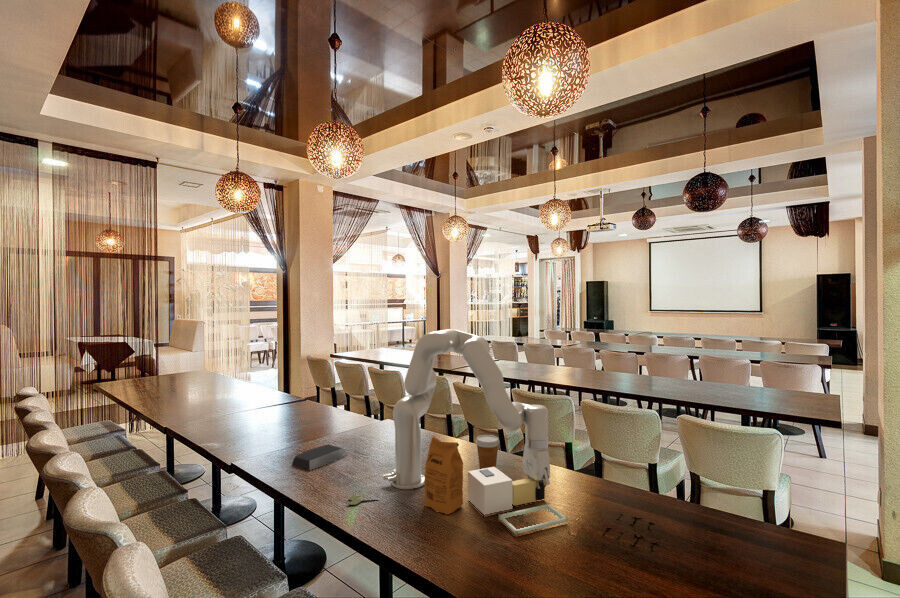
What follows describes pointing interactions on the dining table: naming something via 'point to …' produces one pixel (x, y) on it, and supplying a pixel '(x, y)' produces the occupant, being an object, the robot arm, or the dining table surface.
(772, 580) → the dining table surface
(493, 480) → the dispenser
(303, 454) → the dark grey ingot block
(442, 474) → the coffee package
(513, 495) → the pale yellow paper bar
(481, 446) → the disposable coffee cup
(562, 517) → the tray
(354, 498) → the green leaf
